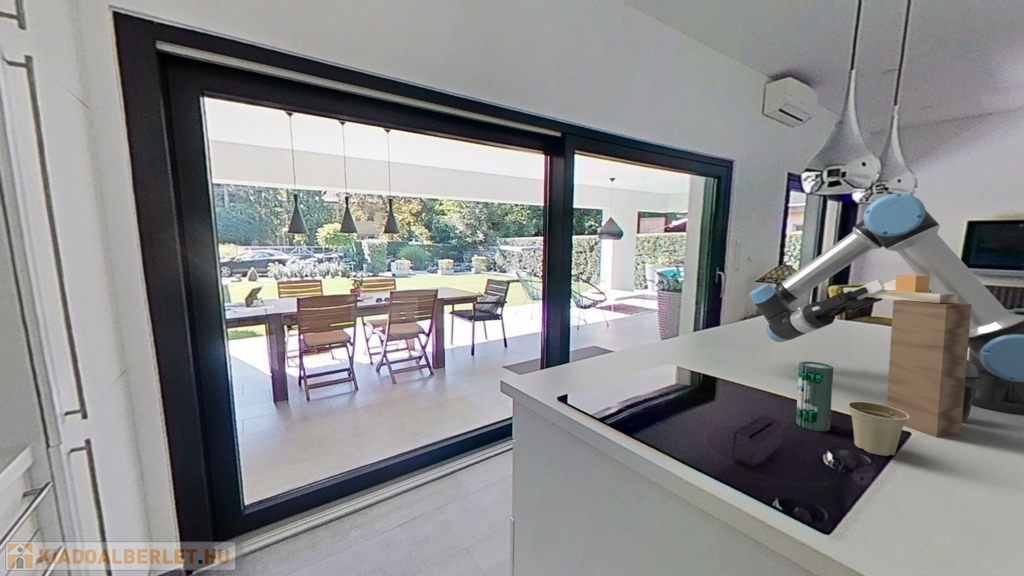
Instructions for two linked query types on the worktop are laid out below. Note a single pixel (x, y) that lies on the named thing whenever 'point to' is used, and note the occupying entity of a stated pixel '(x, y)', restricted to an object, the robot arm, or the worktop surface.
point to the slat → (913, 296)
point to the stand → (929, 364)
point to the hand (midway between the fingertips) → (890, 283)
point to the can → (814, 396)
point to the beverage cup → (969, 389)
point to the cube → (912, 283)
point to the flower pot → (877, 427)
